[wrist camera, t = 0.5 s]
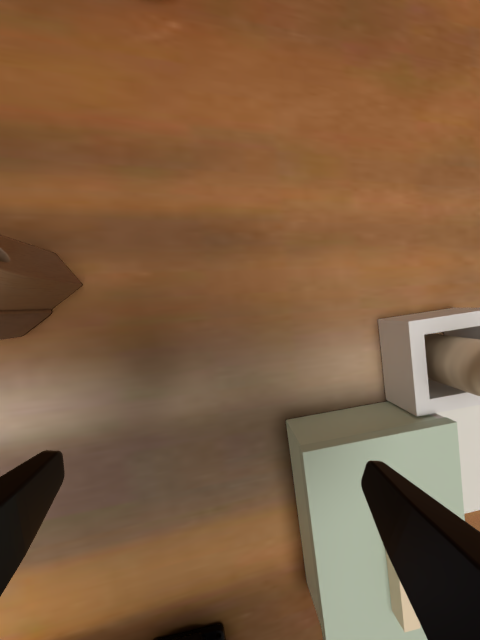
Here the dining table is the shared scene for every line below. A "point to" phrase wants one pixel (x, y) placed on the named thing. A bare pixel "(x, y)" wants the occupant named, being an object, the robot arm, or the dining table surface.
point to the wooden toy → (30, 286)
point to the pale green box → (347, 470)
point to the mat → (468, 453)
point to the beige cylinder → (454, 361)
